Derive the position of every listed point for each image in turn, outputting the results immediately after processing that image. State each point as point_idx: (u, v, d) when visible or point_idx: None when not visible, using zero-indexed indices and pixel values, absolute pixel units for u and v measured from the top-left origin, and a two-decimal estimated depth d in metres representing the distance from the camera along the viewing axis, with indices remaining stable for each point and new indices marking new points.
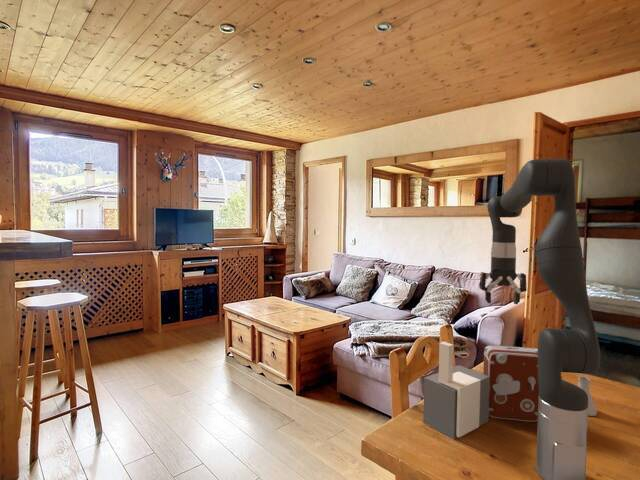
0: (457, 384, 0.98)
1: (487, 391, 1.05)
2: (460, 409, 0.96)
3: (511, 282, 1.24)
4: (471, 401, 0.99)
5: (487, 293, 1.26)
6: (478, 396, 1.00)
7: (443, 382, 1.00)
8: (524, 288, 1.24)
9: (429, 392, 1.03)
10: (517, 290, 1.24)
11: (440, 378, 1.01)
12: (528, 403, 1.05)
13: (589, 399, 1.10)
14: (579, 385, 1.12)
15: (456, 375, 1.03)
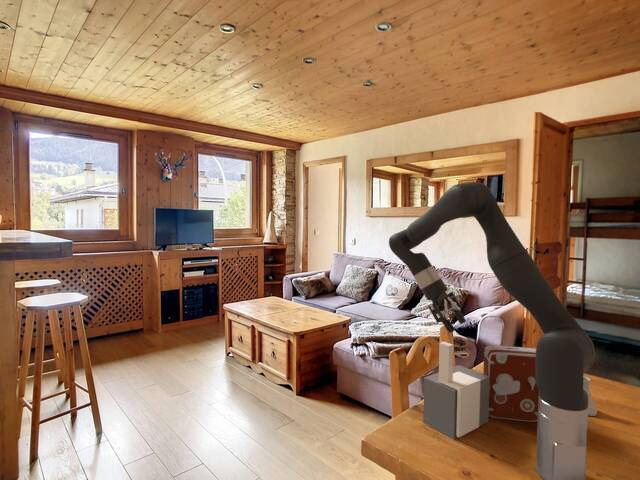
0: (457, 384, 0.98)
1: (487, 391, 1.05)
2: (460, 409, 0.96)
3: (452, 302, 1.21)
4: (471, 401, 0.99)
5: (447, 321, 1.16)
6: (478, 396, 1.00)
7: (443, 382, 1.00)
8: (459, 304, 1.24)
9: (429, 392, 1.03)
10: (458, 308, 1.23)
11: (440, 378, 1.01)
12: (528, 403, 1.05)
13: (589, 399, 1.10)
14: None
15: (456, 375, 1.03)
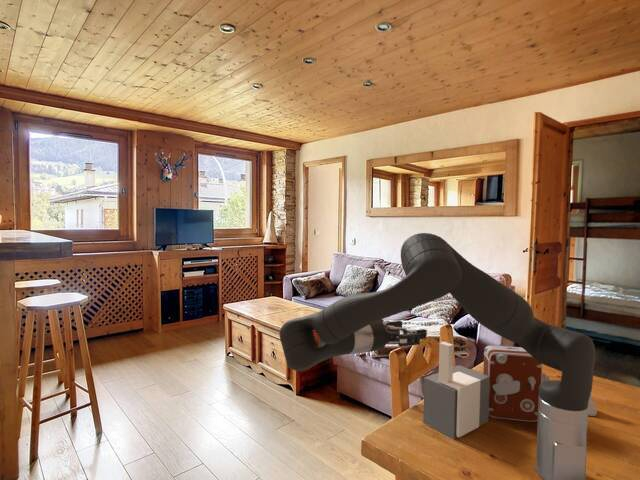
0: (457, 384, 0.98)
1: (487, 391, 1.05)
2: (460, 409, 0.96)
3: (385, 323, 0.92)
4: (471, 401, 0.99)
5: (418, 333, 0.88)
6: (478, 396, 1.00)
7: (443, 382, 1.00)
8: None
9: (429, 392, 1.03)
10: (387, 321, 0.96)
11: (440, 378, 1.01)
12: (528, 403, 1.05)
13: (589, 399, 1.10)
14: None
15: (456, 375, 1.03)
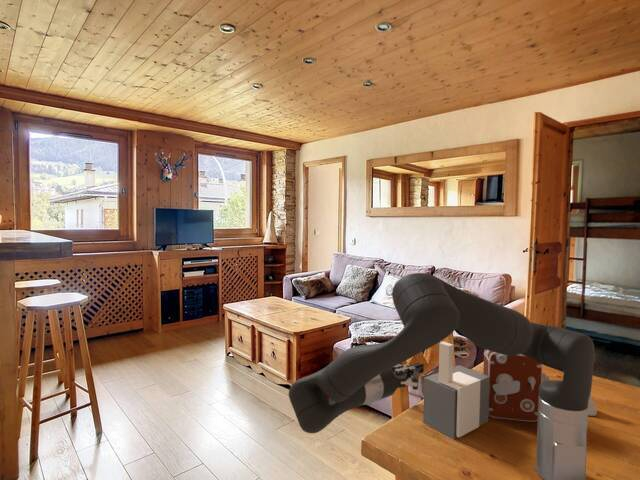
0: (457, 384, 0.98)
1: (487, 391, 1.05)
2: (460, 409, 0.96)
3: (395, 366, 0.90)
4: (471, 401, 0.99)
5: (416, 368, 0.92)
6: (478, 396, 1.00)
7: (443, 382, 1.00)
8: None
9: (429, 392, 1.03)
10: (407, 365, 0.92)
11: (440, 378, 1.01)
12: (528, 403, 1.05)
13: (589, 399, 1.10)
14: None
15: (456, 375, 1.03)
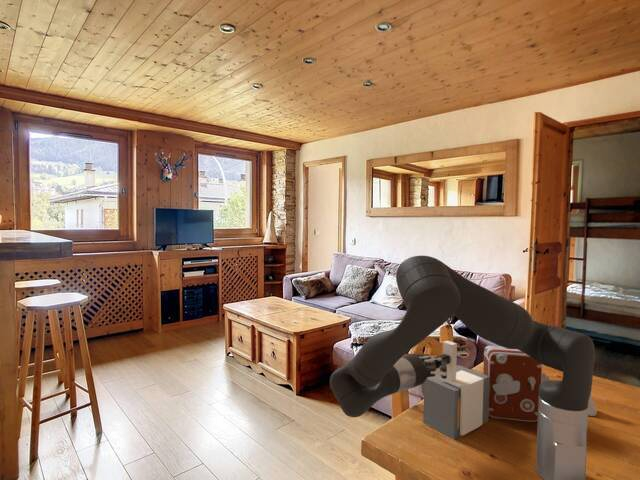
0: (460, 383, 0.99)
1: (487, 391, 1.05)
2: (463, 407, 0.97)
3: (424, 357, 0.96)
4: (474, 399, 1.00)
5: (443, 359, 0.98)
6: (481, 395, 1.01)
7: (446, 380, 1.01)
8: (425, 354, 1.00)
9: (429, 392, 1.03)
10: (434, 357, 0.98)
11: None
12: (528, 403, 1.05)
13: (589, 399, 1.10)
14: None
15: (459, 374, 1.04)
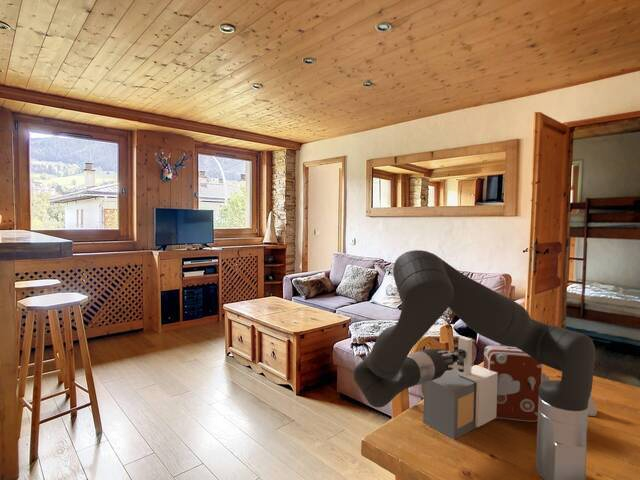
0: (476, 376, 1.03)
1: None
2: (479, 400, 1.01)
3: (441, 352, 1.00)
4: (489, 393, 1.04)
5: (459, 354, 1.02)
6: (495, 388, 1.05)
7: (462, 374, 1.05)
8: (442, 349, 1.04)
9: (429, 392, 1.03)
10: (451, 351, 1.02)
11: None
12: (528, 403, 1.05)
13: (589, 399, 1.10)
14: None
15: (474, 368, 1.08)
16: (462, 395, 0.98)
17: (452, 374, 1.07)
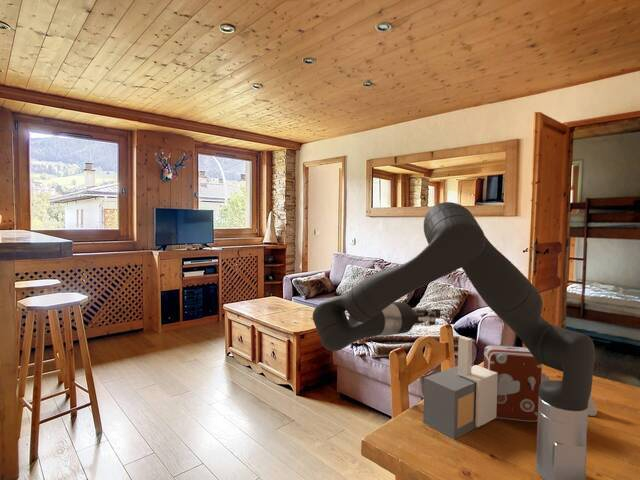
0: (476, 376, 1.03)
1: None
2: (479, 400, 1.01)
3: (412, 308, 0.94)
4: (489, 393, 1.04)
5: (432, 311, 0.95)
6: (495, 388, 1.05)
7: (462, 374, 1.05)
8: None
9: (429, 392, 1.03)
10: None
11: (459, 371, 1.05)
12: (528, 403, 1.05)
13: (589, 399, 1.10)
14: None
15: (474, 368, 1.08)
16: (462, 395, 0.98)
17: (452, 374, 1.07)
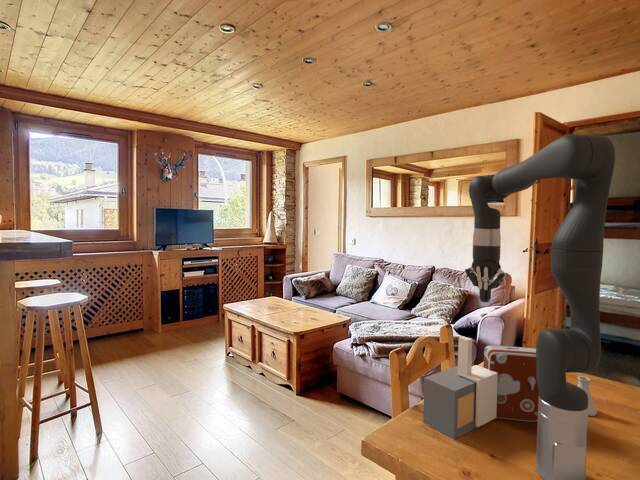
0: (476, 376, 1.03)
1: None
2: (479, 400, 1.01)
3: None
4: (489, 393, 1.04)
5: None
6: (495, 388, 1.05)
7: (462, 374, 1.05)
8: None
9: (429, 392, 1.03)
10: None
11: (459, 371, 1.05)
12: (528, 403, 1.05)
13: (589, 399, 1.10)
14: (579, 385, 1.12)
15: (474, 368, 1.08)
16: (462, 395, 0.98)
17: (452, 374, 1.07)
